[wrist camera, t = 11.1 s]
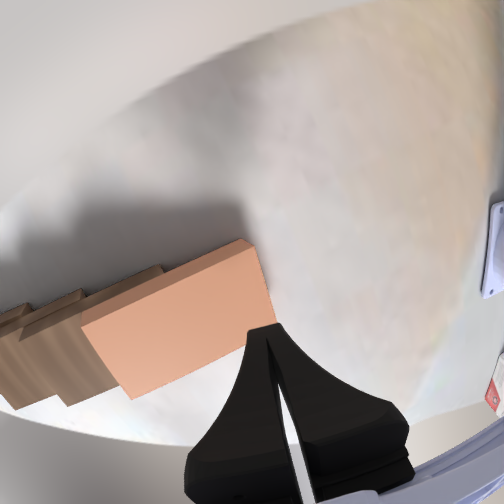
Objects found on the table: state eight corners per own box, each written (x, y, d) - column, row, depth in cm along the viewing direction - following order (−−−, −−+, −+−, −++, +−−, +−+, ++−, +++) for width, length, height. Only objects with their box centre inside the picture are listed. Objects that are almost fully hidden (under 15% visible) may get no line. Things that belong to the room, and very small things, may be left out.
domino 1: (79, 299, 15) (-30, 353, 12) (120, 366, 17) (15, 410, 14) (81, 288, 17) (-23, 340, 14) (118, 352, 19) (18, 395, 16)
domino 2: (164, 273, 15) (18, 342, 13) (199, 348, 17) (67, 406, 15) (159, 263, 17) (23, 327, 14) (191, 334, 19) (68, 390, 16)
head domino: (254, 246, 15) (80, 327, 12) (278, 326, 17) (131, 400, 15) (240, 238, 17) (82, 312, 14) (265, 314, 19) (127, 382, 16)
